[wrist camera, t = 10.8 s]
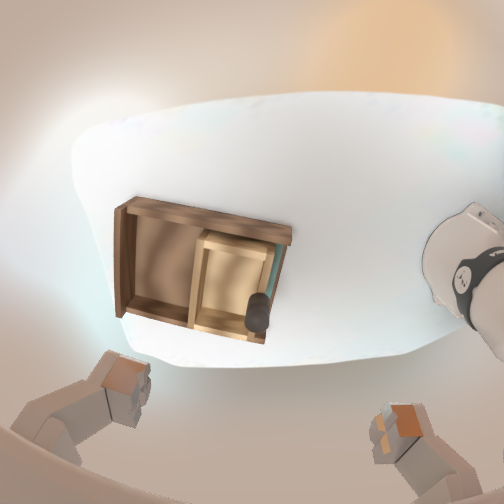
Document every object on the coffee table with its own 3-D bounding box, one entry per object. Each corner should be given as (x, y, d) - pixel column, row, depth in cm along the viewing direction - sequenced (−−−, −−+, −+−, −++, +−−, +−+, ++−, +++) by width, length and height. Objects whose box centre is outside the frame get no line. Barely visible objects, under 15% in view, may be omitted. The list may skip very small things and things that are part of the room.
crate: (282, 239, 46) (282, 274, 36) (262, 320, 51) (257, 366, 41) (207, 224, 46) (186, 254, 36) (196, 306, 51) (178, 348, 41)
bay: (291, 226, 46) (292, 244, 40) (265, 325, 53) (263, 352, 47) (135, 196, 46) (114, 208, 40) (132, 295, 53) (115, 316, 47)
